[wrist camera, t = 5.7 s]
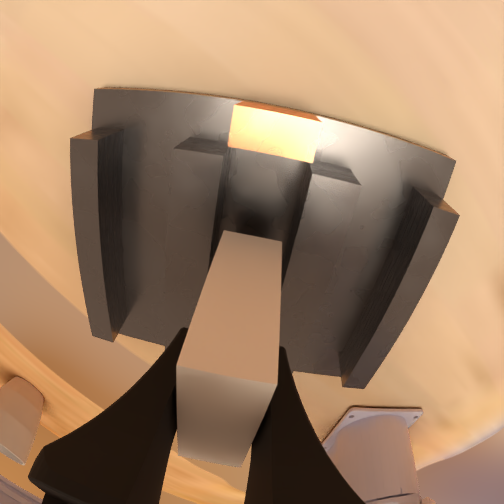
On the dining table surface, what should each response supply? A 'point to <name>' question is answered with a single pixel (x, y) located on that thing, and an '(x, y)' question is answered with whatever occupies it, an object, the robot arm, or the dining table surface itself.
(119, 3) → the dining table surface
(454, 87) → the dining table surface
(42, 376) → the dining table surface
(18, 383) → the cup
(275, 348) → the tall beige block
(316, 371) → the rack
